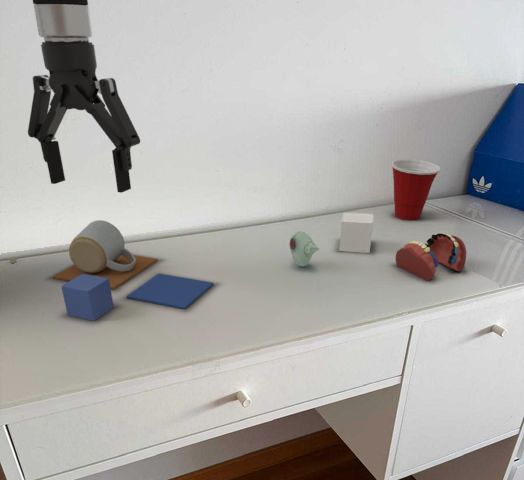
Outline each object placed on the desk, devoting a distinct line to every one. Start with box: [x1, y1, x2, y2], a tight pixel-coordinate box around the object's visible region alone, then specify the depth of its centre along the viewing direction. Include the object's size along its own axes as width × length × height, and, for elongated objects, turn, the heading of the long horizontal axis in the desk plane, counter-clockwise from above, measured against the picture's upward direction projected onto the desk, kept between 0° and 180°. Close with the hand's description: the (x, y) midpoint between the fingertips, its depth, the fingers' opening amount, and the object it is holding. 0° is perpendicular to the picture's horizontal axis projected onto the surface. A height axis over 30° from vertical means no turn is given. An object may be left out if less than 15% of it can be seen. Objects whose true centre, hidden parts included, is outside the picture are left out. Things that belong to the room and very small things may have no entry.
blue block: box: [60, 274, 115, 322], centre depth 80 cm, size 5×5×5 cm
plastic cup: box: [390, 158, 441, 221], centre depth 118 cm, size 11×11×12 cm
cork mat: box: [52, 254, 158, 290], centre depth 95 cm, size 13×14×1 cm
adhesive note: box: [338, 212, 374, 254], centre depth 103 cm, size 6×6×6 cm
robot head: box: [289, 230, 320, 268], centre depth 94 cm, size 8×4×7 cm, turn 25°
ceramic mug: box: [68, 219, 136, 273], centre depth 93 cm, size 11×8×8 cm
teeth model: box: [395, 232, 467, 282], centre depth 93 cm, size 8×6×12 cm
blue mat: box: [126, 273, 215, 310], centre depth 87 cm, size 11×10×1 cm
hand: (90, 186), depth 88 cm, fingers open, 13 cm apart
